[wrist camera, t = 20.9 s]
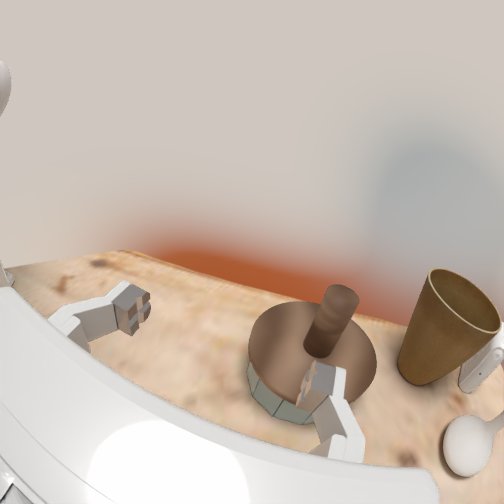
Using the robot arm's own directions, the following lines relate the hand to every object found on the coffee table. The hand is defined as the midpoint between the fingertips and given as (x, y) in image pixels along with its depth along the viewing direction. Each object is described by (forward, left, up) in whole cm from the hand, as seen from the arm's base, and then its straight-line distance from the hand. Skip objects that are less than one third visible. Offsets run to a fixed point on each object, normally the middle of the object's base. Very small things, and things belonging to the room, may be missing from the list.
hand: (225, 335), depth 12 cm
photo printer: (+41, +24, -22) cm, 52 cm away
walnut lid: (+7, +15, -15) cm, 23 cm away
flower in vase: (+36, +8, -22) cm, 43 cm away
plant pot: (+27, +23, -22) cm, 42 cm away
